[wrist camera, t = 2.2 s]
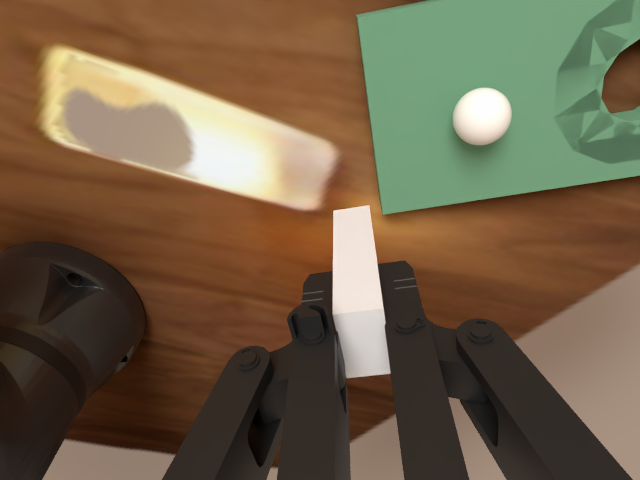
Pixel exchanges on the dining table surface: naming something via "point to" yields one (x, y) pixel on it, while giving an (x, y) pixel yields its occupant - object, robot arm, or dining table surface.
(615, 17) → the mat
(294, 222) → the dining table surface
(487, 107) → the ball
